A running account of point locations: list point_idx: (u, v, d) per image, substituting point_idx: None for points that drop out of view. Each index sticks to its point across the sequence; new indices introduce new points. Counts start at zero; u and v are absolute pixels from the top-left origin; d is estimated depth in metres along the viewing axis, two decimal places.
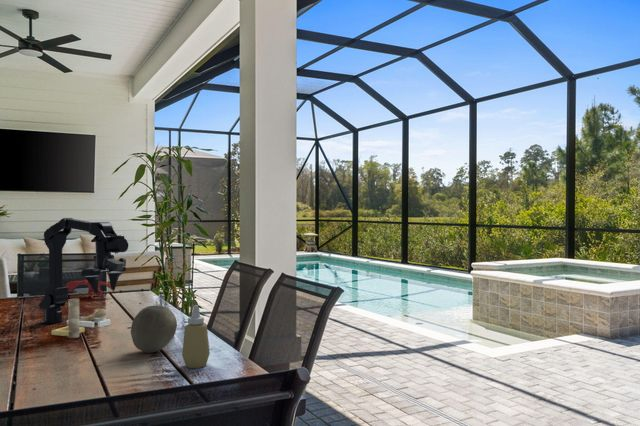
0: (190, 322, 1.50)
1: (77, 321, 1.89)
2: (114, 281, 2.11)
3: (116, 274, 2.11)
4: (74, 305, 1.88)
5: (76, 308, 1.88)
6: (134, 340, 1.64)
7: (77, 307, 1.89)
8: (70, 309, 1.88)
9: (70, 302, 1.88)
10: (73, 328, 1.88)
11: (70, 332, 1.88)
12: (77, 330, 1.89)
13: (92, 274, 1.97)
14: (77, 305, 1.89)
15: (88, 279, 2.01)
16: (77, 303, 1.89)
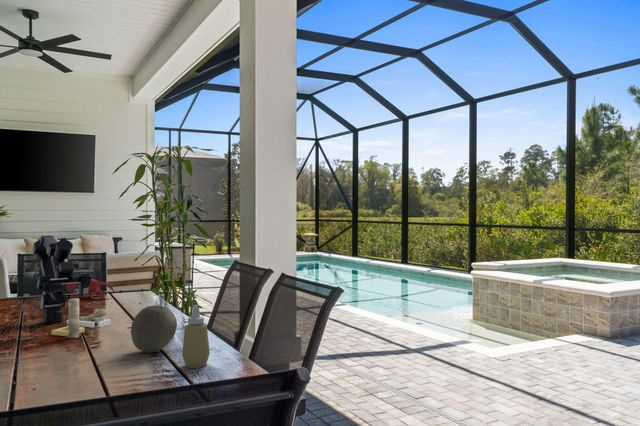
0: (190, 322, 1.50)
1: (77, 321, 1.89)
2: (80, 288, 2.00)
3: (80, 281, 2.02)
4: (74, 305, 1.88)
5: (76, 308, 1.88)
6: (134, 340, 1.64)
7: (77, 307, 1.89)
8: (70, 309, 1.88)
9: (70, 302, 1.88)
10: (73, 328, 1.88)
11: (70, 332, 1.88)
12: (77, 330, 1.89)
13: (40, 279, 1.93)
14: (77, 305, 1.89)
15: (46, 291, 1.96)
16: (77, 303, 1.89)
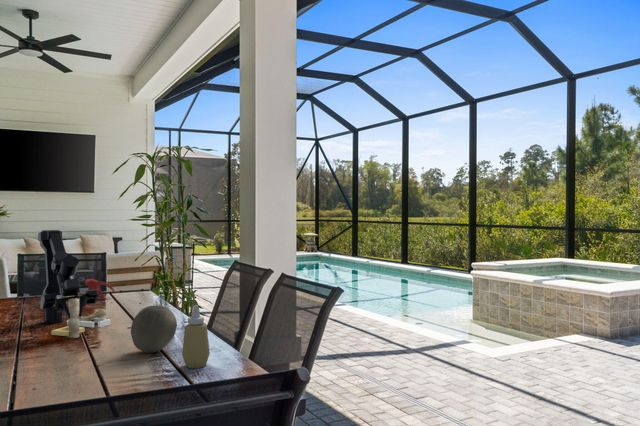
0: (190, 322, 1.50)
1: (77, 321, 1.89)
2: (79, 307, 1.91)
3: (79, 300, 1.93)
4: (74, 305, 1.88)
5: (76, 308, 1.88)
6: (134, 340, 1.64)
7: (77, 307, 1.89)
8: (70, 309, 1.88)
9: (70, 302, 1.88)
10: (73, 328, 1.88)
11: (70, 332, 1.88)
12: (77, 330, 1.89)
13: (45, 298, 1.85)
14: (77, 305, 1.89)
15: (59, 309, 1.90)
16: (77, 303, 1.89)
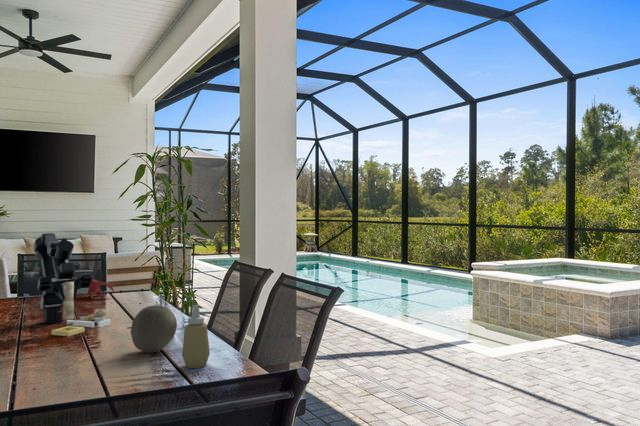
0: (190, 322, 1.50)
1: (72, 303, 1.95)
2: (74, 290, 1.97)
3: (74, 283, 1.99)
4: (69, 288, 1.94)
5: (71, 291, 1.94)
6: (134, 340, 1.64)
7: (72, 290, 1.95)
8: (65, 292, 1.94)
9: (65, 285, 1.94)
10: (67, 310, 1.94)
11: (65, 314, 1.94)
12: (71, 312, 1.95)
13: (40, 280, 1.91)
14: (72, 288, 1.95)
15: (55, 291, 1.96)
16: (72, 286, 1.95)
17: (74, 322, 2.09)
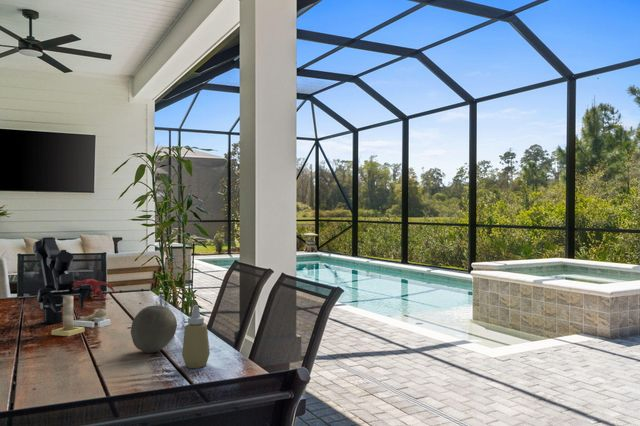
0: (190, 322, 1.50)
1: (71, 318, 1.95)
2: (80, 300, 1.99)
3: (80, 293, 2.01)
4: (68, 302, 1.94)
5: (70, 305, 1.95)
6: (134, 340, 1.64)
7: (71, 304, 1.95)
8: (64, 306, 1.94)
9: (64, 299, 1.94)
10: (67, 324, 1.94)
11: (64, 328, 1.94)
12: (71, 326, 1.95)
13: (40, 292, 1.92)
14: (71, 302, 1.95)
15: (47, 303, 1.95)
16: (71, 300, 1.95)
17: (74, 322, 2.09)
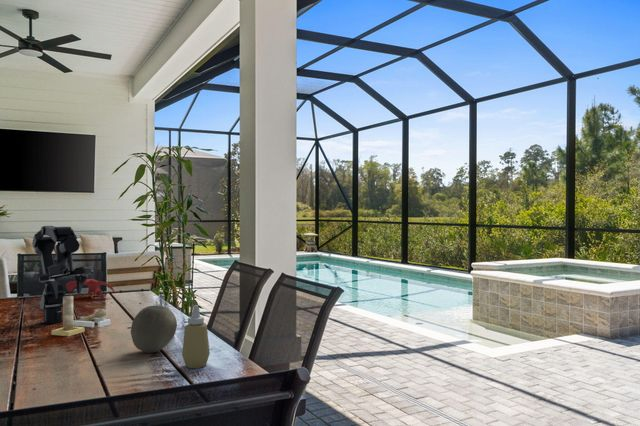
0: (190, 322, 1.50)
1: (71, 318, 1.95)
2: None
3: None
4: (68, 303, 1.94)
5: (70, 305, 1.95)
6: (134, 340, 1.64)
7: (71, 304, 1.95)
8: (64, 306, 1.94)
9: (64, 299, 1.94)
10: (67, 324, 1.94)
11: (64, 328, 1.94)
12: (71, 326, 1.95)
13: (39, 280, 2.01)
14: (71, 302, 1.95)
15: None
16: (71, 300, 1.95)
17: (74, 322, 2.09)
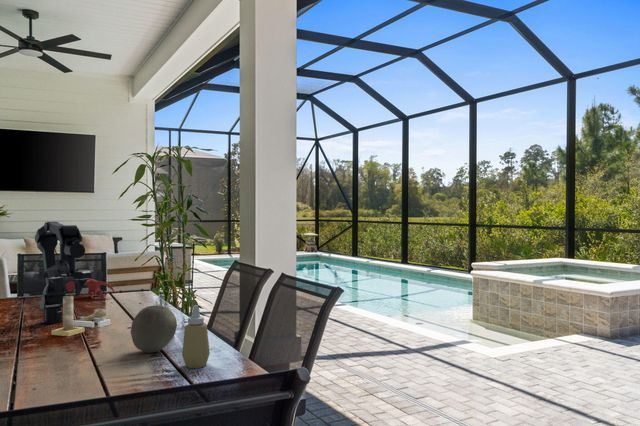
0: (190, 322, 1.50)
1: (71, 318, 1.95)
2: None
3: None
4: (68, 303, 1.94)
5: (70, 305, 1.95)
6: (134, 340, 1.64)
7: (71, 304, 1.95)
8: (64, 306, 1.94)
9: (64, 299, 1.94)
10: (67, 324, 1.94)
11: (64, 328, 1.94)
12: (71, 326, 1.95)
13: (44, 276, 2.04)
14: (71, 302, 1.95)
15: None
16: (71, 300, 1.95)
17: (74, 322, 2.09)
